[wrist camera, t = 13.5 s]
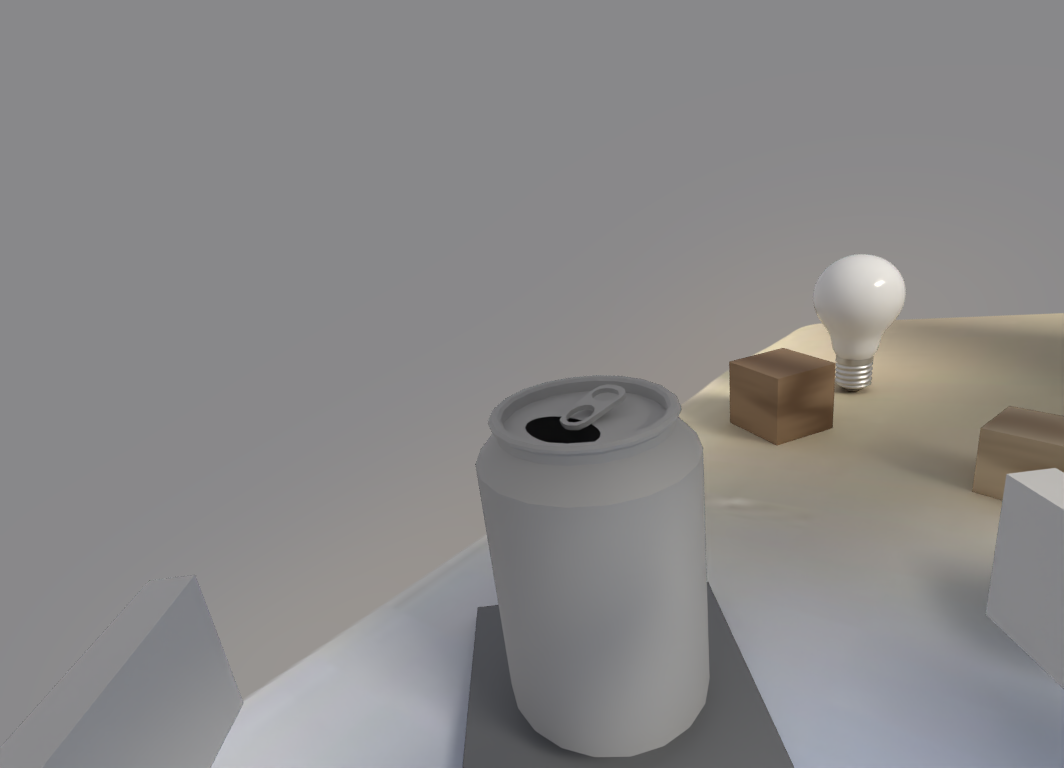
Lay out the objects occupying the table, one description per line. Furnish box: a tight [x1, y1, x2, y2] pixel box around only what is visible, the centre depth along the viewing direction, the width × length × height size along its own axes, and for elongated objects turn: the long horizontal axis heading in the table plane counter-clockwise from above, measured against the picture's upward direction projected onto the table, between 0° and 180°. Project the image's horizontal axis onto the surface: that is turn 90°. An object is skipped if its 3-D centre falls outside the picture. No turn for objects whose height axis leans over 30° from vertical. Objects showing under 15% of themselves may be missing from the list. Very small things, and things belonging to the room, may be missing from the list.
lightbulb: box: [813, 254, 906, 391], centre depth 48 cm, size 6×6×11 cm
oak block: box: [972, 406, 1064, 500], centre depth 33 cm, size 4×4×4 cm
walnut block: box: [729, 348, 836, 445], centre depth 45 cm, size 5×5×5 cm
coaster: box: [463, 582, 794, 768], centre depth 24 cm, size 11×11×1 cm
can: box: [475, 376, 710, 757], centre depth 22 cm, size 8×8×12 cm
